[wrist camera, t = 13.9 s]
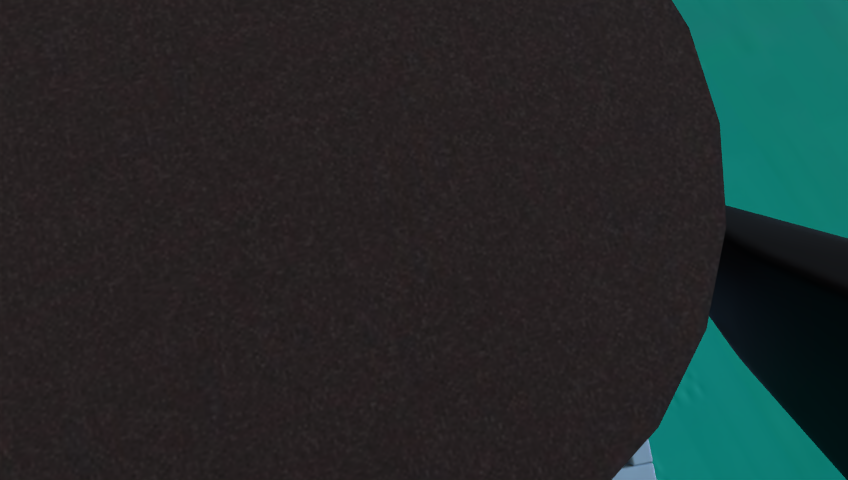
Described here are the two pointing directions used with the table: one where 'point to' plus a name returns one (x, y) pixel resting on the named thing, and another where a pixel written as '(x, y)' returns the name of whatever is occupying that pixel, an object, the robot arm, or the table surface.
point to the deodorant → (349, 236)
